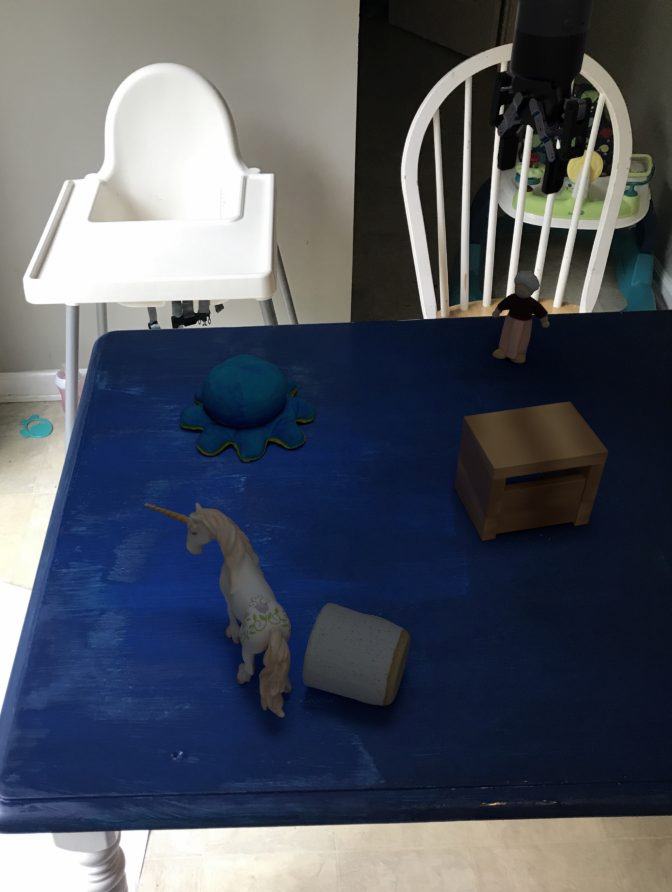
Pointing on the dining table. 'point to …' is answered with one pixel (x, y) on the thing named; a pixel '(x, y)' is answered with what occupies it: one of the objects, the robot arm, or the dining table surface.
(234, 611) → the unicorn figurine
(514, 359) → the grandmother figurine
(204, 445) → the plush toy
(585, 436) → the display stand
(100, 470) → the dining table surface
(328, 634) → the grey cylinder
